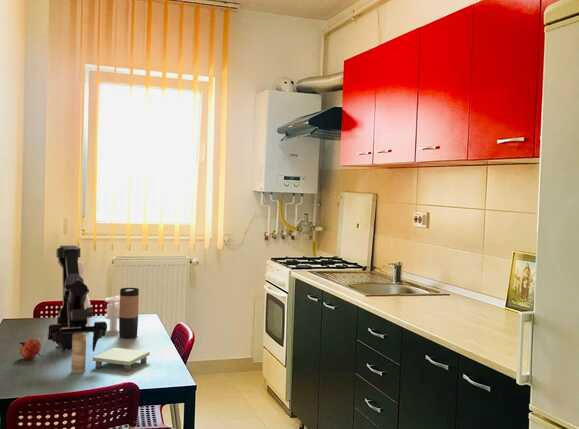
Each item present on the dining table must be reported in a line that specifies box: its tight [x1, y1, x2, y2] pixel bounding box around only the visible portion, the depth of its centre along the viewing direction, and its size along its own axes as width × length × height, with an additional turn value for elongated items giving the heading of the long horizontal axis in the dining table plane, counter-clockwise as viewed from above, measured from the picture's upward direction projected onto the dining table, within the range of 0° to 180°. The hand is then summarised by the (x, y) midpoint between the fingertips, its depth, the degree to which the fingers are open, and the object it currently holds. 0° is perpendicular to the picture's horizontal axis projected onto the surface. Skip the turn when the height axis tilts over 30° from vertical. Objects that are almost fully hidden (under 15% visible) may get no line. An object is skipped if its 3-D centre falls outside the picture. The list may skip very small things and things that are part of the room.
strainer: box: [104, 295, 120, 332], centre depth 262 cm, size 7×7×15 cm
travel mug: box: [118, 287, 140, 340], centre depth 251 cm, size 8×8×20 cm
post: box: [70, 333, 87, 374], centre depth 201 cm, size 4×4×12 cm
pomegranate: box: [19, 338, 44, 361], centre depth 214 cm, size 7×7×10 cm
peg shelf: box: [92, 347, 151, 373], centre depth 210 cm, size 14×14×4 cm
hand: (79, 352), depth 200 cm, fingers open, 9 cm apart
